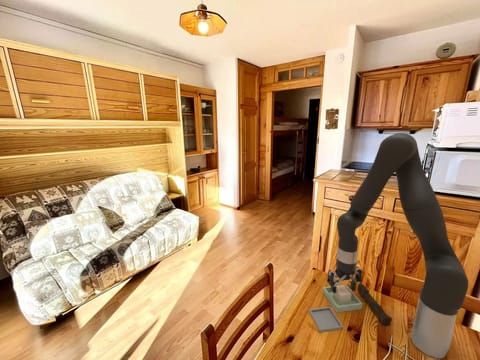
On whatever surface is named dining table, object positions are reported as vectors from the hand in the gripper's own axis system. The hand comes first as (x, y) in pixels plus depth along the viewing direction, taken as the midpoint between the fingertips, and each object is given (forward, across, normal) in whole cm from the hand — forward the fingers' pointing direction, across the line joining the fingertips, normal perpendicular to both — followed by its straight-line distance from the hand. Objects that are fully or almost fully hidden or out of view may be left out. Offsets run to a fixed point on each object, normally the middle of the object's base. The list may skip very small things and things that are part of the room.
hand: (343, 290), depth 90 cm
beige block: (+5, 0, 0) cm, 5 cm away
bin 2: (+5, 0, 0) cm, 5 cm away
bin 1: (+5, -12, -8) cm, 16 cm away
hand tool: (+6, +10, -4) cm, 12 cm away
